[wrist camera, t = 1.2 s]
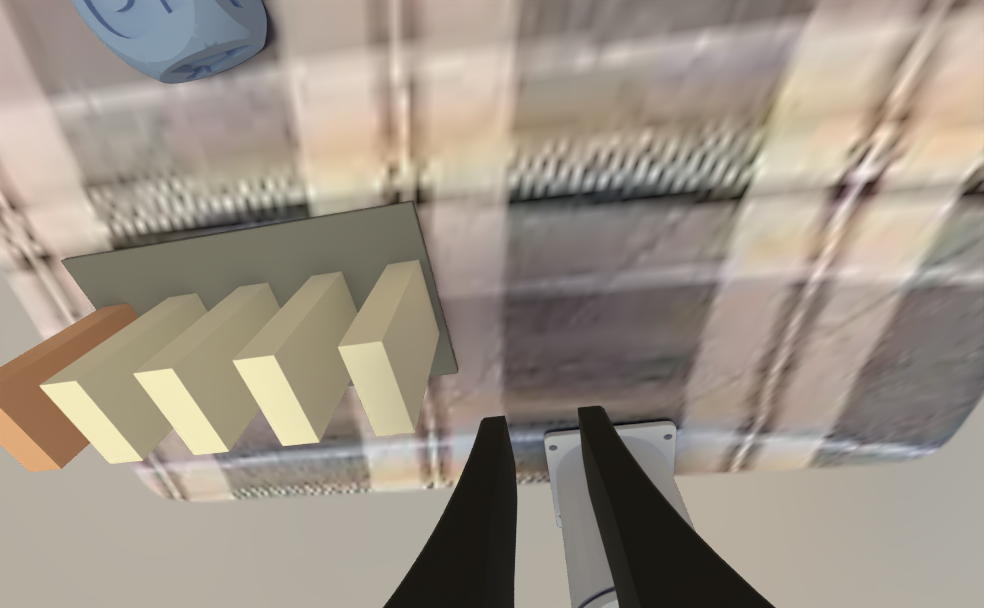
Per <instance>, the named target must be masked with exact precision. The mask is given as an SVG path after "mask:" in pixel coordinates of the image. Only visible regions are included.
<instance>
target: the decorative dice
mask: <svg viewBox="0 0 984 608" xmlns="http://www.w3.org/2000/svg"><path fill="white" fill-rule="evenodd" d="M71 1H72V3H73V5H74V6H75V8H76V10H77V11H78V13H79V14H80V16H81V17H82V19H83V20H84V21H85V23H86V24H87V25H88V26H89V28H90V29H91V30H92V31H93V32H94V34H95V35H96V36H97V37H98V38H99V39H100V40H101V41H102V42H103V43H104V44H105V45H106V46H107V47H108V48H109V49H110V50H111V51H112V52H114V53H115V54H116V55H117V56H118V57H119V58H121V59H122V60H123V61H125V62H126V63H127V64H129V65H130V66H132V67H133V68H135V69H136V70H138V71H140V72H141V73H143V74H145V75H147V76H149V77H151V78H154V79H156V80H159V81H161V82H163V83H169V84H175V83H184V82H189V81H194V80H198V79H201V78H205V77H208V76H211V75H214V74H217V73H220V72H222V71H225V70H227V69H230V68H232V67H234V66H236V65H238V64H240V63H242V62H244V61H246V60H247V59H249V58H251V57H252V56H254V55H255V54H256V53H258V52H259V51H260V50H261V49H262V48H263V46H264V44H265V39H266V31H267V19H266V13H265V10H264V6H263V4H262V1H261V0H71Z"/></svg>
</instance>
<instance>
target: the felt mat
mask: <svg viewBox="0 0 984 608" xmlns="http://www.w3.org/2000/svg"><path fill="white" fill-rule="evenodd" d="M414 260H419V262H420V265H421V269H422V273H423V276H424V280H425V283H426V287H427V291H428V294H429V298H430V301H431V305H432V308H433V312H434V316H435V319H436V323H437V326H438V330H439V338H438V342H437V346H436V350H435V354H434V358H433V362H432V366H431V370H430V374H429V377H430V376H439V375H447V374H455V373H458V368H457V364H456V360H455V356H454V353H453V349H452V345H451V341H450V338H449V334H448V330H447V326H446V323H445V319H444V315H443V311H442V308H441V304H440V300H439V296H438V293H437V289H436V285H435V281H434V278H433V274H432V270H431V266H430V263H429V259H428V255H427V251H426V248H425V244H424V240H423V236H422V233H421V229H420V225H419V221H418V218H417V214H416V210H415V206H414V203H413V201H409V202H403V203H397V204H391V205H385V206H379V207H373V208H367V209H361V210H355V211H349V212H343V213H337V214H331V215H325V216H319V217H313V218H306V219H300V220H294V221H288V222H282V223H276V224H270V225H264V226H258V227H252V228H246V229H240V230H234V231H228V232H222V233H216V234H210V235H204V236H198V237H192V238H186V239H180V240H174V241H168V242H162V243H156V244H150V245H144V246H138V247H132V248H126V249H120V250H114V251H108V252H102V253H96V254H90V255H84V256H78V257H72V258H66V259H64V260H61V262H62V264H63V265H64V266H65V268H66V269H67V270H68V272H69V273H70V274H71V276H72V277H73V278H74V280H75V281H76V283H77V284H78V285H79V287H80V288H81V289H82V291H83V292H84V293H85V295H86V296H87V297H88V299H89V300H90V302H91V303H92V304H93V306H94V307H95V308H96V310H98V309H100V308H102V307H107V306H114V305H120V304H127V303H129V305H130V306H131V308H132V309H133V310H134V312H135V313H136V315H137V316H138V318H139V317H141V316H142V315H144V314H145V313H147V312H148V311H150V310H151V309H152V308H154V307H155V306H157V305H158V304H160V303H161V302H163V301H164V300H166V299H167V298H169V297H174V296H180V295H187V294H194V293H197V294H198V296H199V298H200V299H201V301H202V303H203V305H204V306H205V308H206V310H207V311H208V312H209V311H210V310H211V309H212V308H214V307H215V306H216V305H217V304H218V303H220V302H221V301H222V300H223V299H225V298H226V297H227V296H228V295H229V294H231V293H232V292H233V291H234V290H236V289H237V288H238V287H240V286H247V285H254V284H260V283H267V282H268V284H269V286H270V288H271V290H272V292H273V294H274V296H275V298H276V300H277V302H278V305H279V307H280V309H281V308H282V307H283V306H284V305H285V304H286V303H287V302H288V301H289V300H290V298H291V297H292V296H293V295H294V294H295V293H296V292H297V291H298V290H299V289H300V288H301V287H302V286H303V285H304V284H305V282H306V281H307V280H308V279H309V278H310V277H311V276H314V275H320V274H327V273H334V272H340V271H342V273H343V276H344V279H345V281H346V284H347V286H348V289H349V292H350V294H351V297H352V299H353V302H354V305H355V307H356V310H357V312H358V313H359V311H360V309H361V308H362V306H363V304H364V303H365V301H366V299H367V298H368V296H369V294H370V293H371V291H372V289H373V288H374V286H375V284H376V283H377V281H378V280H379V278H380V276H381V275H382V273H383V271H384V270H385V268H386V266H387V265H388V264H394V263H401V262H407V261H414ZM348 386H354V384H353V381H352V379H351V380H350V382H349V384H348Z"/></svg>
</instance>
